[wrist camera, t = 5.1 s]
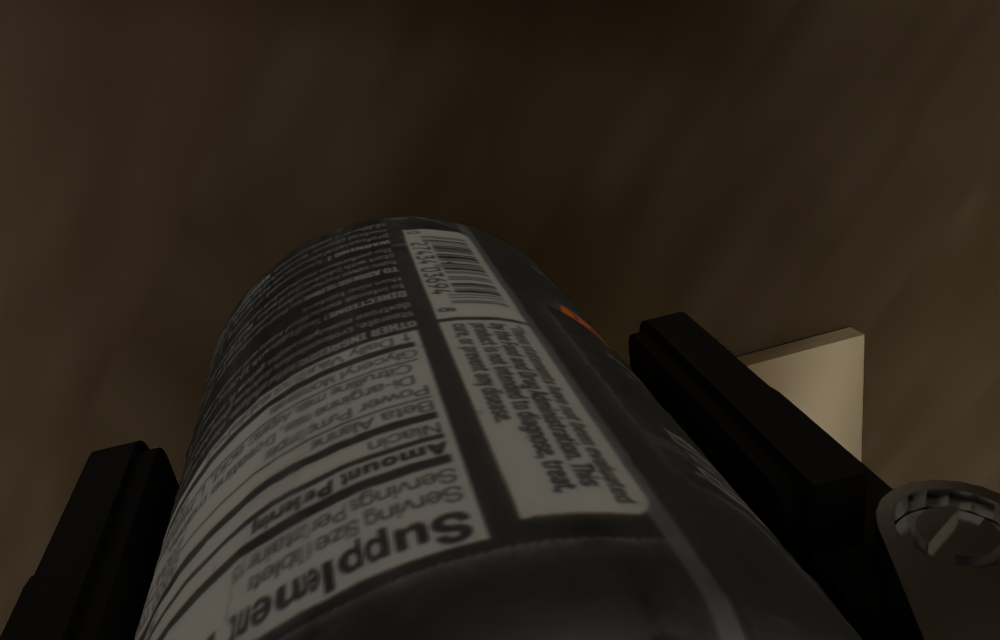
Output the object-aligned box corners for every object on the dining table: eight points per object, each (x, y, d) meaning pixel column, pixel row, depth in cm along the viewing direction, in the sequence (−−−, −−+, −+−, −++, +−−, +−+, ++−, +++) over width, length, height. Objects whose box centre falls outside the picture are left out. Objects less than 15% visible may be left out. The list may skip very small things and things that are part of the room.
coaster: (850, 327, 22) (864, 334, 22) (845, 600, 26) (857, 612, 26) (512, 416, 21) (518, 427, 20) (560, 694, 24) (566, 709, 24)
